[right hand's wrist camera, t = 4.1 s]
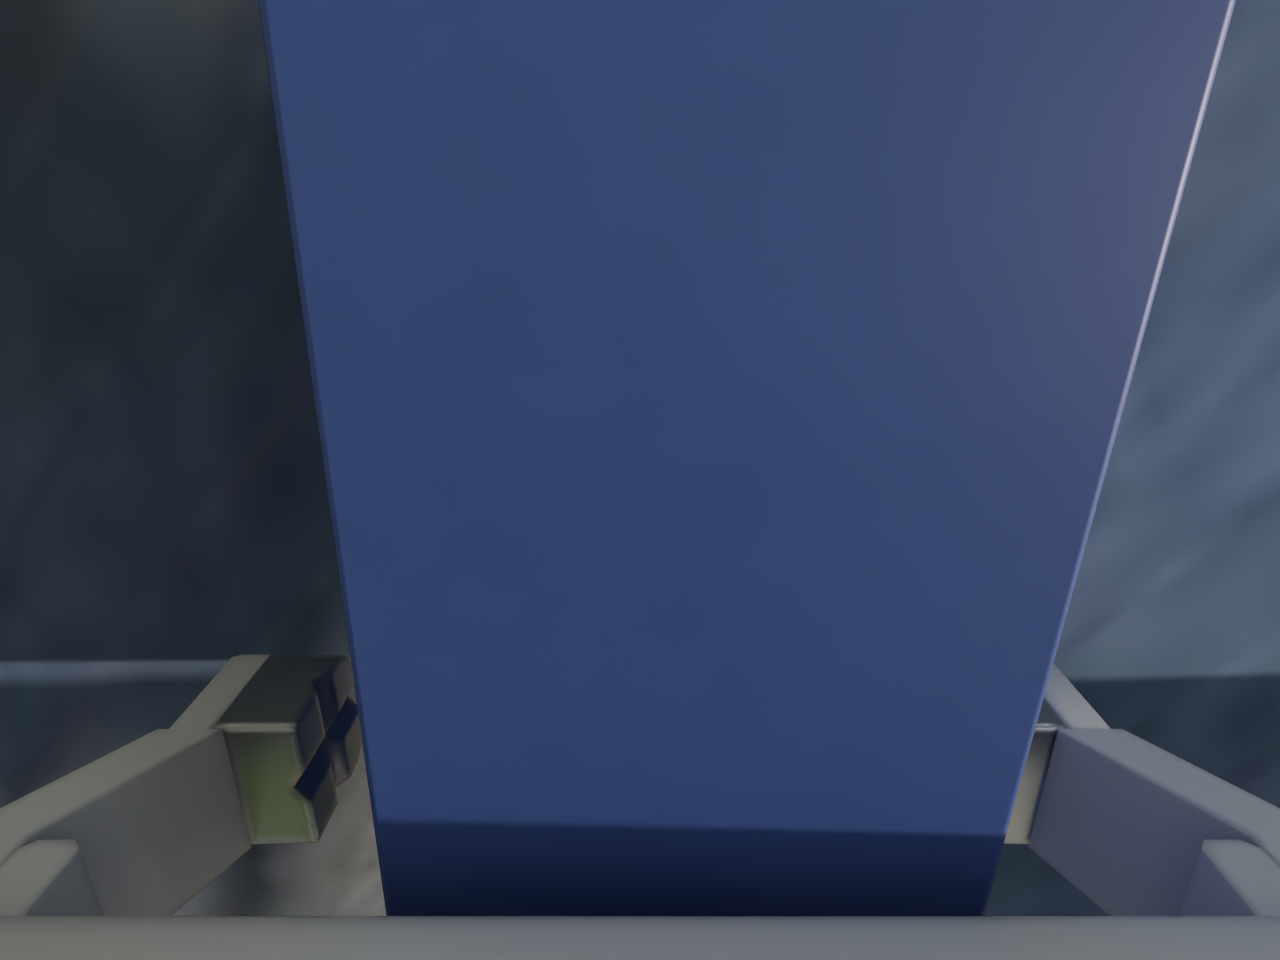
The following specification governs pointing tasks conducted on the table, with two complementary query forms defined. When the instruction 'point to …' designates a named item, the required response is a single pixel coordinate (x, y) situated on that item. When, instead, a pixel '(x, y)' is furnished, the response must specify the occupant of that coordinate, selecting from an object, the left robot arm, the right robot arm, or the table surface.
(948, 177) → the bar
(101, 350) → the table surface
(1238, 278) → the table surface
